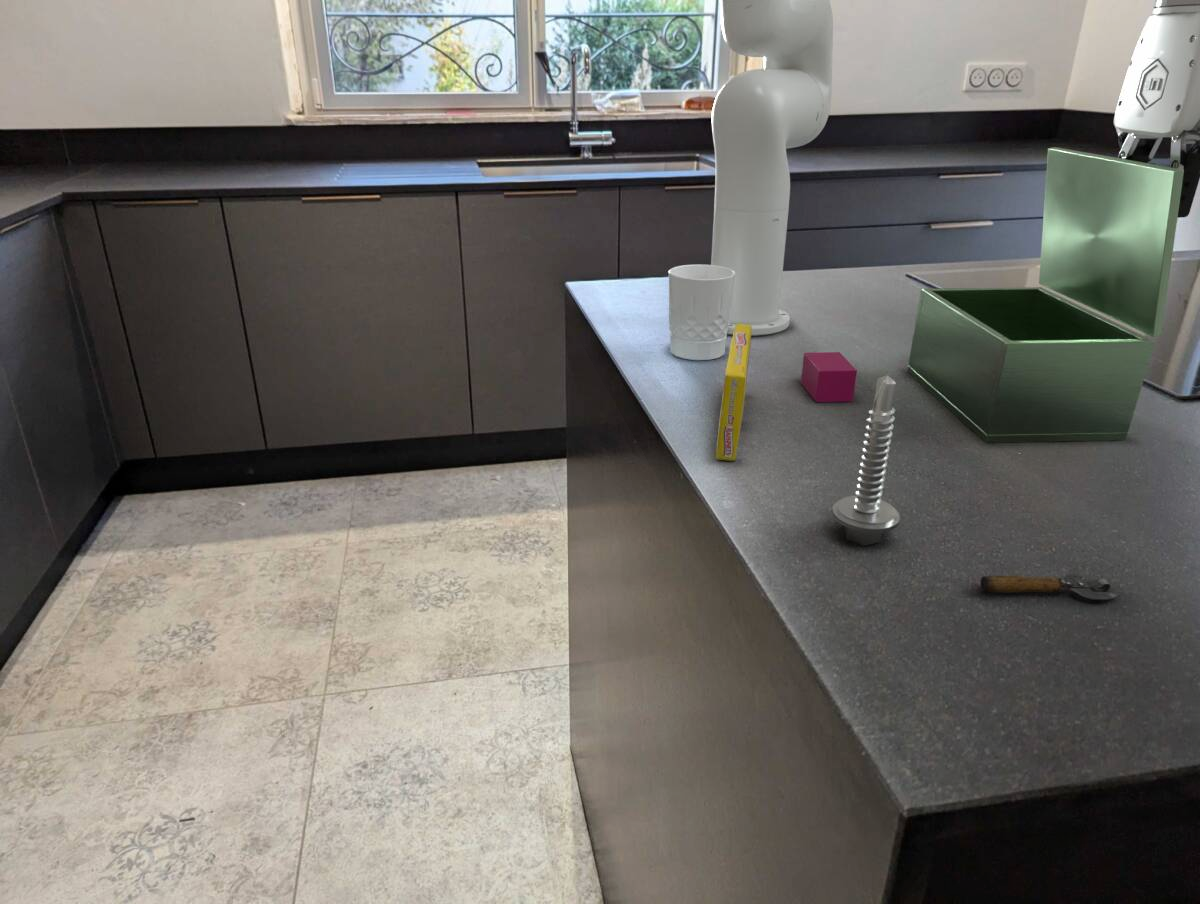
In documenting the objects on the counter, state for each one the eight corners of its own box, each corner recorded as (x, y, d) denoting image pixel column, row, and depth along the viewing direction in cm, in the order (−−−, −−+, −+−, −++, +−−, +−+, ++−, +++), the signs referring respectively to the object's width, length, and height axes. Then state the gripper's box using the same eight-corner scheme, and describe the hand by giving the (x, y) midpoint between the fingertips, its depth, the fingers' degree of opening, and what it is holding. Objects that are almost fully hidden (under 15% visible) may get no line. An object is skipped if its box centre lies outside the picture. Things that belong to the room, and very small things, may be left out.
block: (815, 402, 87) (819, 371, 85) (800, 382, 92) (803, 352, 91) (852, 401, 87) (857, 370, 86) (835, 381, 92) (839, 351, 91)
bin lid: (1174, 171, 68) (1243, 159, 67) (1047, 148, 85) (1102, 138, 85) (1152, 337, 74) (1215, 326, 74) (1038, 283, 91) (1089, 275, 91)
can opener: (983, 595, 55) (986, 581, 55) (973, 576, 57) (976, 561, 57) (1125, 605, 54) (1131, 591, 54) (1110, 585, 56) (1115, 571, 56)
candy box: (739, 463, 74) (746, 376, 70) (715, 461, 74) (720, 374, 71) (746, 397, 88) (752, 322, 84) (726, 396, 88) (731, 321, 85)
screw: (880, 561, 59) (818, 538, 62) (905, 534, 63) (845, 514, 65) (909, 392, 54) (839, 376, 56) (935, 373, 57) (868, 358, 60)
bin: (985, 442, 78) (1007, 343, 73) (907, 371, 95) (921, 288, 91) (1125, 440, 78) (1155, 341, 74) (1021, 370, 96) (1041, 287, 92)
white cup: (657, 358, 100) (660, 276, 95) (675, 339, 106) (678, 262, 102) (722, 365, 97) (727, 282, 93) (735, 346, 104) (741, 267, 100)
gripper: (1105, 1, 78) (1060, 198, 86) (1238, -13, 63) (1168, 228, 71) (1182, 1, 79) (1130, 197, 86) (1333, -13, 63) (1252, 227, 71)
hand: (1147, 209), depth 79 cm, fingers closed on bin lid, 5 cm apart
